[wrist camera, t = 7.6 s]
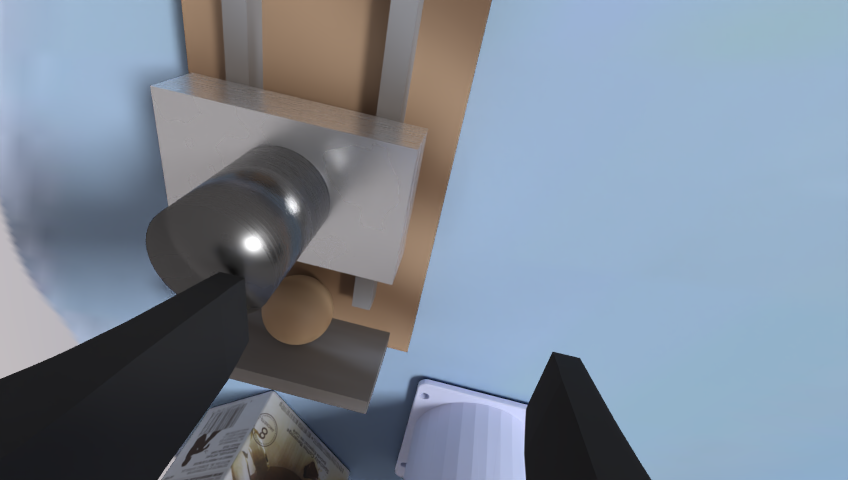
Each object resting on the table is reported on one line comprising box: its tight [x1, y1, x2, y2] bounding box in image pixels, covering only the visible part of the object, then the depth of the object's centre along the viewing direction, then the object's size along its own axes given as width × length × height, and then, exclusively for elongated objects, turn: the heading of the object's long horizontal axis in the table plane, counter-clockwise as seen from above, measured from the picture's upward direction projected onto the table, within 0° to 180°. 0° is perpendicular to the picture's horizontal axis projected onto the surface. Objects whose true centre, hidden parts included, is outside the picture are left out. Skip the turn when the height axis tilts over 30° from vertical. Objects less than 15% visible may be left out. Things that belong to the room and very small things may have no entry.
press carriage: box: [146, 73, 428, 314], centre depth 13 cm, size 5×8×6 cm, turn 79°
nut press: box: [181, 0, 492, 414], centre depth 15 cm, size 19×10×6 cm, turn 169°
